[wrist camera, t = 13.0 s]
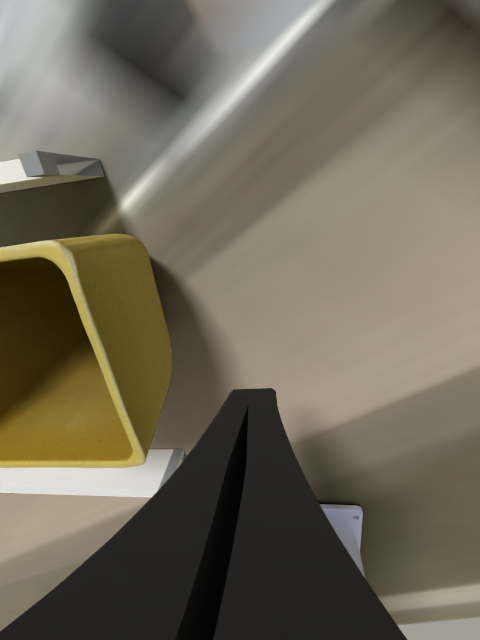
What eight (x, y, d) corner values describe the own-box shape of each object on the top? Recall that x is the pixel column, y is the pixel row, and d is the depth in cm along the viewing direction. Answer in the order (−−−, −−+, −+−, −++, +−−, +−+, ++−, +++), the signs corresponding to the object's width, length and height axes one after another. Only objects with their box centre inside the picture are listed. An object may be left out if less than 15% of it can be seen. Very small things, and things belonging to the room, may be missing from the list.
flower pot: (26, 228, 17) (-198, 273, 9) (169, 208, 16) (59, 239, 8) (81, 356, 21) (-42, 470, 13) (200, 348, 19) (148, 469, 11)
